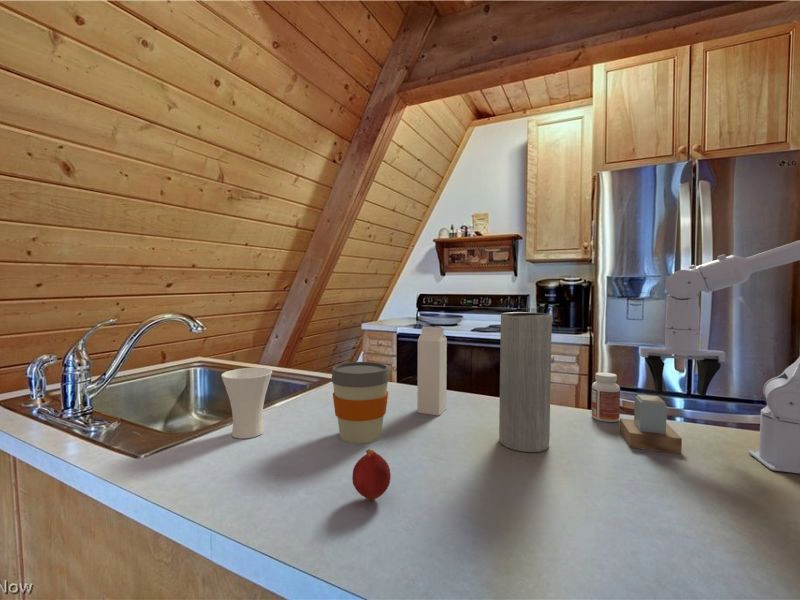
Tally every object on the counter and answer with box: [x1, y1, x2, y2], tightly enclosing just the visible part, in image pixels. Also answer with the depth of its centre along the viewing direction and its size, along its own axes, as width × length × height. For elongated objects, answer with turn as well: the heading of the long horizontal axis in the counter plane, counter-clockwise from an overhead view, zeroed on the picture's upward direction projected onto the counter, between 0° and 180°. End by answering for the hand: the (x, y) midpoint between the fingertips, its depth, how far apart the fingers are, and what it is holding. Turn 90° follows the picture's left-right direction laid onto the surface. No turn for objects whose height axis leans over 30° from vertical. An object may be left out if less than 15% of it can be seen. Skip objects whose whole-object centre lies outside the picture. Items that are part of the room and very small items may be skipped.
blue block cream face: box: [633, 394, 668, 434], centre depth 82 cm, size 5×5×6 cm
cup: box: [220, 367, 273, 439], centre depth 86 cm, size 10×10×14 cm
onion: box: [351, 448, 392, 502], centre depth 60 cm, size 6×6×8 cm
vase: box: [498, 311, 553, 453], centre depth 81 cm, size 10×10×27 cm
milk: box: [416, 326, 448, 417], centre depth 102 cm, size 6×6×22 cm
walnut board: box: [619, 417, 683, 454], centre depth 82 cm, size 9×9×3 cm
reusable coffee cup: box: [331, 361, 390, 444], centre depth 85 cm, size 13×12×15 cm
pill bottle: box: [591, 371, 621, 423], centre depth 96 cm, size 6×6×11 cm
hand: (679, 393), depth 82 cm, fingers open, 7 cm apart
